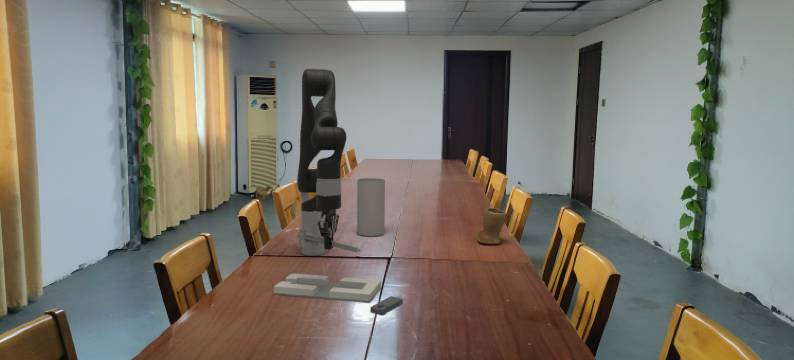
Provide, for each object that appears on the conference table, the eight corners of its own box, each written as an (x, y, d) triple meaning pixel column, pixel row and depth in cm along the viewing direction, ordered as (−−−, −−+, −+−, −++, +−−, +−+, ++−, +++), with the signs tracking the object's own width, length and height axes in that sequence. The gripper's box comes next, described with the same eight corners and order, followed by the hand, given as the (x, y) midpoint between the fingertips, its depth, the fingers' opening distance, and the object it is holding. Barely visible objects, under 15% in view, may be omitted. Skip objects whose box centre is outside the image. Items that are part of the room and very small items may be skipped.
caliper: (296, 249, 170) (296, 228, 170) (298, 248, 171) (297, 228, 171) (361, 252, 166) (360, 231, 165) (362, 251, 167) (361, 230, 166)
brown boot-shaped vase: (505, 246, 231) (507, 211, 229) (477, 245, 232) (478, 210, 230) (502, 238, 246) (504, 205, 244) (476, 237, 247) (477, 204, 245)
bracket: (402, 305, 160) (403, 298, 160) (382, 317, 151) (382, 309, 150) (390, 302, 162) (390, 295, 162) (369, 314, 153) (370, 306, 153)
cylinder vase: (383, 237, 245) (384, 181, 242) (355, 236, 245) (356, 181, 242) (384, 231, 257) (385, 178, 254) (358, 230, 257) (358, 178, 254)
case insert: (292, 280, 180) (292, 273, 180) (381, 288, 174) (381, 280, 174) (274, 294, 166) (274, 286, 166) (369, 302, 160) (369, 294, 160)
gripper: (324, 189, 174) (324, 243, 176) (308, 195, 161) (309, 253, 163) (347, 190, 172) (347, 244, 174) (333, 196, 159) (333, 254, 161)
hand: (328, 248), depth 169 cm, fingers closed on caliper, 1 cm apart
